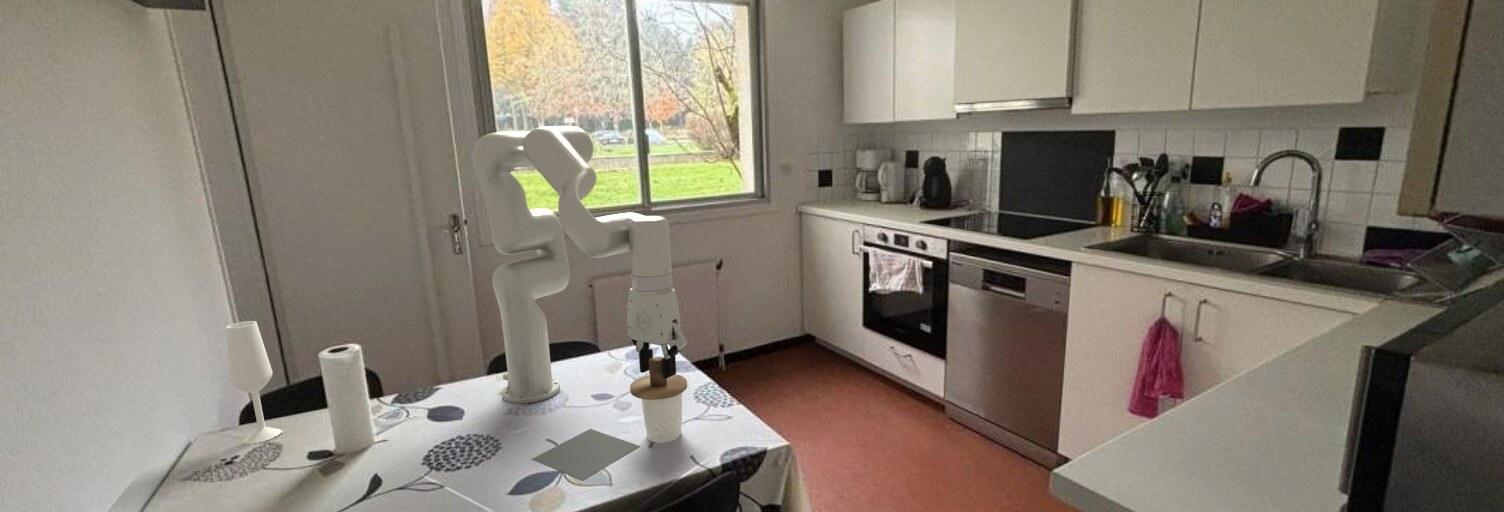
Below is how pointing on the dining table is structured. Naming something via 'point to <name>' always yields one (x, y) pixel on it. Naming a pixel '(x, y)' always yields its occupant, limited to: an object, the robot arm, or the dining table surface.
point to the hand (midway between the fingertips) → (658, 372)
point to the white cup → (663, 418)
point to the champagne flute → (250, 371)
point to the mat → (586, 454)
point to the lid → (657, 383)
